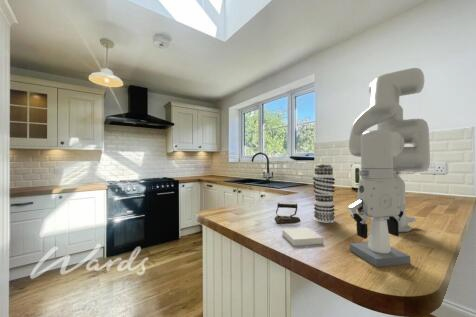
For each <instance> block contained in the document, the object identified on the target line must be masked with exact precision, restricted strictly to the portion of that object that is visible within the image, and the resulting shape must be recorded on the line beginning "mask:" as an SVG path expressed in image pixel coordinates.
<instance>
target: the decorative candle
mask: <svg viewBox="0 0 476 317" xmlns="http://www.w3.org/2000/svg"><path fill="white" fill-rule="evenodd" d="M333 169H334V168H333V166H332V165H331V164H330V163H318V164H316V165H315V167H314V174H313V175H314V176H313V177H312V180H313V183H312V184H313V188H314V189H313V194H314V204H313V206H314V208H313V209H314V211H313V213H314V215H313V217H314V218H313V219H314V221H316V222H318V223H324V224H329V223H330V224H331V223H335V220H336V219H335V217H336V216H335V215H336V214H335V204H334V202H335V201H334V195H335V193H334V192H335V190H334V189H335V186H334V185H335V180H336V179H335V178H334V172H333V171H334V170H333Z"/></svg>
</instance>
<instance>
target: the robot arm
mask: <svg viewBox="0 0 476 317" xmlns="http://www.w3.org/2000/svg"><path fill="white" fill-rule="evenodd" d="M424 86H425V75H424V72H423V70H422V69H421V68H420V67H411V68H407V69H402V70H397V71H393V72H389V73H385V74H382V75H380V76H378V77H376V78H375V79H374V80H372V81H371V82H370V83H369V86H368V93H369V96H370V97H369V103H368V104H369V105H368V108H367V109H366V110H365V111H363V112H362V113H361V114H360V115H359V116H358V117H357V118H356V119H355V120H354V122H353V124H352V126H351V129H350V133H349V140H348V150H349V153H350V154H351V155H352V156H354V157H357V158H360V166H361V167H360V169H361V170H359V171H358V175H359V177H360V178H361V179H359V182H358V186H357V193H356V196H357V197H356V201H355V202H354V203H352V204H350V205H349V206H347V210H348V211H349V214H350V217H351V218H352V219H354V220H353V221H354V222H356V235H357V236H358V237H360V238H362V239H368V224H367V221H368V219H369V218H376V217H384V219H385V220H387V226H388V233H389V235H392V236H395V237H399V234H400V233H407V232H411V230H412V228H411V227H412V226H410V225H409V223H415V222H416V220H417V219H416V217H414V216H407V215H406V208H407V207H406V183H405V181H404V180H403V179H402V177H401V176H400V175H398V173H423V172H426V171H428V170H429V169H430V164H431V150H430V146H431V145H430V130H429V129H430V128H429V125H428V123H427V121H426V120H425V119H423V118H410V119H404V109H403V107H402V105H401V104H400V97H403V96H409V95H414V94H419V93H421V92H422V91H423V89H424ZM376 125H377V129H374V130H368V129H370V128H371V127H374V126H376ZM367 130H368V131H367ZM405 145H412V146H405Z"/></svg>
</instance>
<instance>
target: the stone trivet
mask: <svg viewBox="0 0 476 317" xmlns="http://www.w3.org/2000/svg"><path fill="white" fill-rule="evenodd" d="M281 232H282V234H281V235H282V236H283V237H284V238H285V239H286V240H287V241H288V242H289V243H290V244H291V245H292V246H293V247H296V246H299V247H300V246H308V245H309V246H310V245H312V246H313V245H322V244H324V237H323V236H322V235H319V234H318V233H317V232H315V231H314V230H312V228H309V227H300V228H299V227H298V228H284V229H283V228H282V230H281Z"/></svg>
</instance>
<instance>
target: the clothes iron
mask: <svg viewBox="0 0 476 317" xmlns="http://www.w3.org/2000/svg"><path fill="white" fill-rule="evenodd" d="M276 205H277V207H276V211H275V214H276V216H274V221H275V223H276V224H277V225H278V224H279V225H284V224H287V225H288V224H295V223H300V222H301V219H300V217H298V216H296V215H297V212H298V203H295V204H293V203H280V202H277V204H276ZM280 208H281V209H285V208H286V209H288V208H289V209H295V210H294V214H290V215H288V216H287V215H279V214H278V211H279V209H280Z"/></svg>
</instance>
